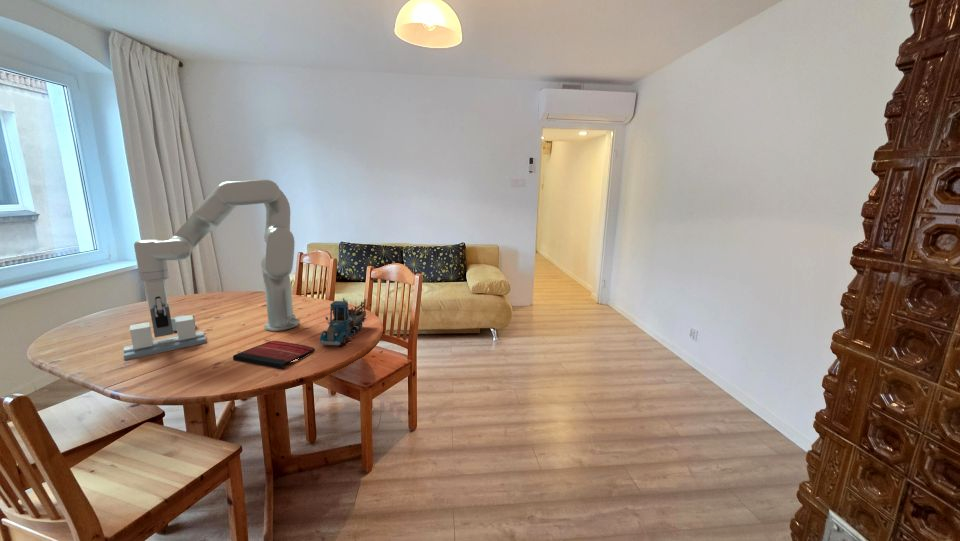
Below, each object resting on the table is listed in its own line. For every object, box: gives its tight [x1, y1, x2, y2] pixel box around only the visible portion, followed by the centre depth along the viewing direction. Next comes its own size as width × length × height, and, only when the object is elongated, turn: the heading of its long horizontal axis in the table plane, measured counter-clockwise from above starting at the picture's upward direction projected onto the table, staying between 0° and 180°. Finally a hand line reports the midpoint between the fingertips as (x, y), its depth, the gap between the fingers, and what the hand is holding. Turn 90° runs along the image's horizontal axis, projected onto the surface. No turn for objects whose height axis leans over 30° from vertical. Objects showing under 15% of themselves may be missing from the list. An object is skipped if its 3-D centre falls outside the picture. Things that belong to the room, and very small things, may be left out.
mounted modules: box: [129, 314, 197, 349], centre depth 130 cm, size 17×6×7 cm, turn 133°
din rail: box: [123, 331, 205, 354], centre depth 131 cm, size 22×4×1 cm, turn 133°
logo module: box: [149, 303, 174, 338], centre depth 129 cm, size 5×6×10 cm
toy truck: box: [319, 297, 367, 348], centre depth 142 cm, size 11×25×15 cm, turn 176°
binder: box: [232, 340, 316, 370], centre depth 127 cm, size 16×2×21 cm
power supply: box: [171, 314, 197, 332], centre depth 148 cm, size 6×4×5 cm
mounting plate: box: [123, 330, 207, 361], centre depth 132 cm, size 22×10×2 cm, turn 133°
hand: (162, 323), depth 130 cm, fingers closed on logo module, 6 cm apart
